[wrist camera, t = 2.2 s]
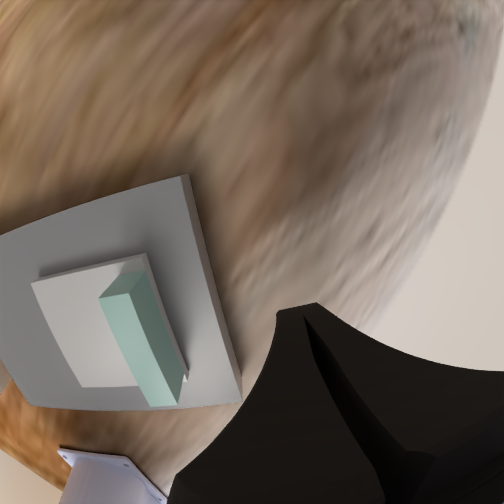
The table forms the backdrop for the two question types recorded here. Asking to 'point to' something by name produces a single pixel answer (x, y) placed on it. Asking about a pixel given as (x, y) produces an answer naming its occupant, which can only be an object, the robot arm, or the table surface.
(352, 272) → the table surface
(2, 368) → the plug
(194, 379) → the socket plate
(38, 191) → the table surface
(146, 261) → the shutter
